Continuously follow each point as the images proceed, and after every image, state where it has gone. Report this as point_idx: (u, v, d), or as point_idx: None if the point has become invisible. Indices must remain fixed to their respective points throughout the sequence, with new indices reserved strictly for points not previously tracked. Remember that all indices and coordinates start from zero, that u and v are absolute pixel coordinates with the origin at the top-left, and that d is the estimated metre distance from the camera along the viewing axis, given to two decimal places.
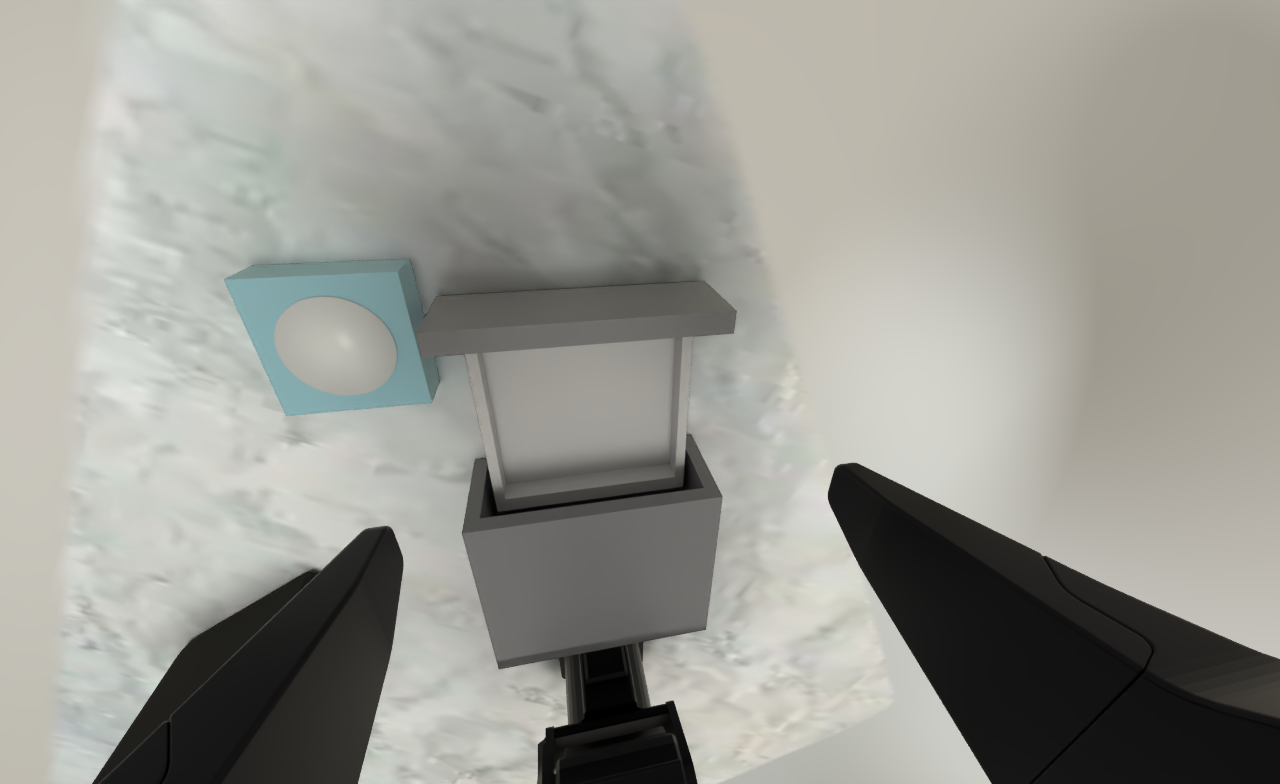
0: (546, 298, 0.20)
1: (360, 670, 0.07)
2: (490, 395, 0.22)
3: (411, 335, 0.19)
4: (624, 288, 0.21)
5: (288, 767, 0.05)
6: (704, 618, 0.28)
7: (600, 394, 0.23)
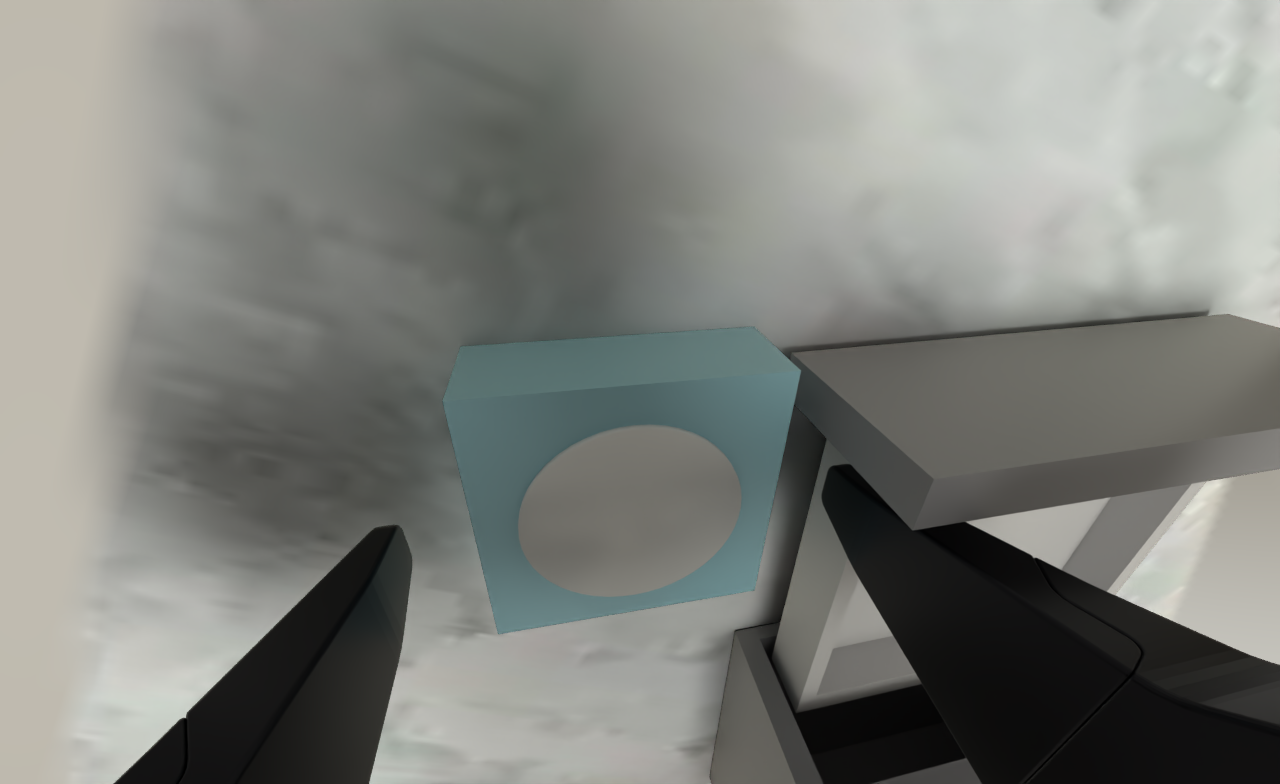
0: (1025, 358, 0.10)
1: (372, 668, 0.07)
2: None
3: (771, 486, 0.09)
4: (1119, 330, 0.11)
5: (303, 764, 0.05)
6: None
7: (1002, 515, 0.13)
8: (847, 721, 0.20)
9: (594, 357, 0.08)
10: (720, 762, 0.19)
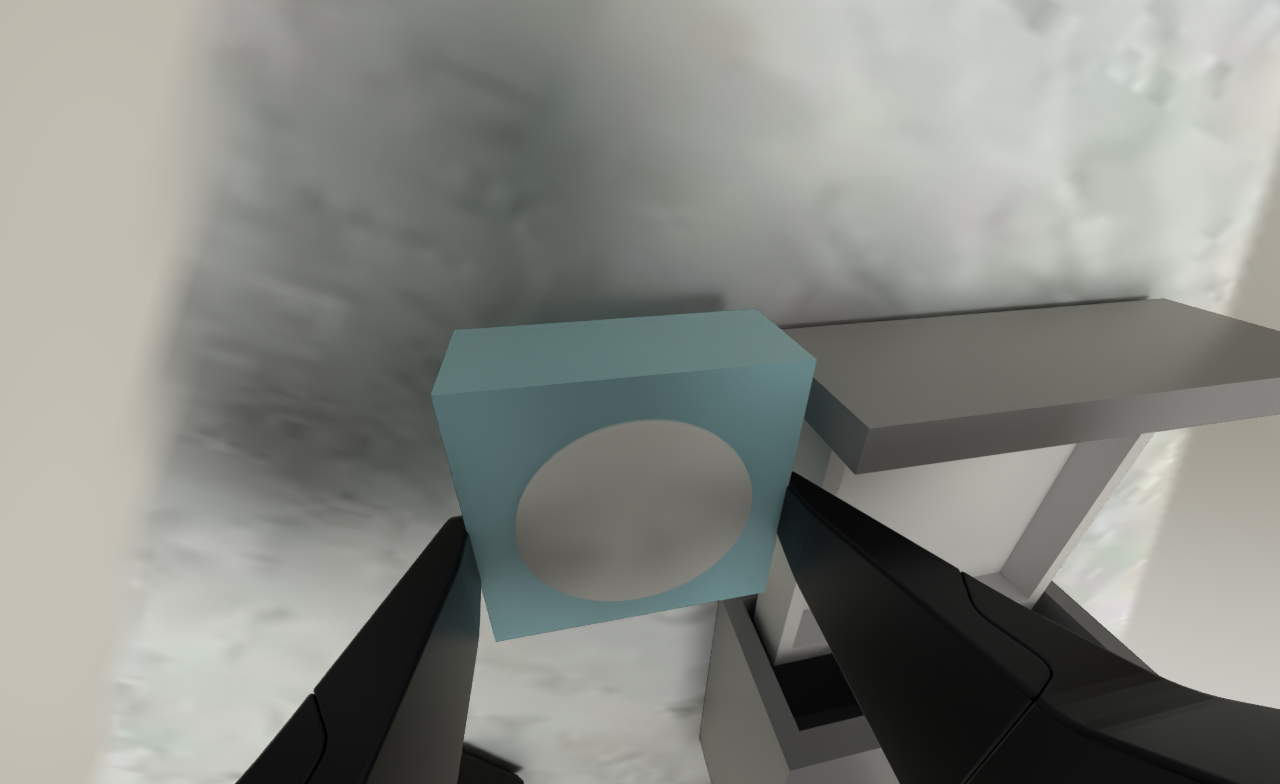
0: (970, 335, 0.11)
1: (461, 652, 0.07)
2: None
3: (783, 483, 0.09)
4: (1061, 313, 0.12)
5: (419, 739, 0.06)
6: None
7: (960, 483, 0.14)
8: (828, 684, 0.21)
9: (594, 347, 0.08)
10: (708, 721, 0.20)
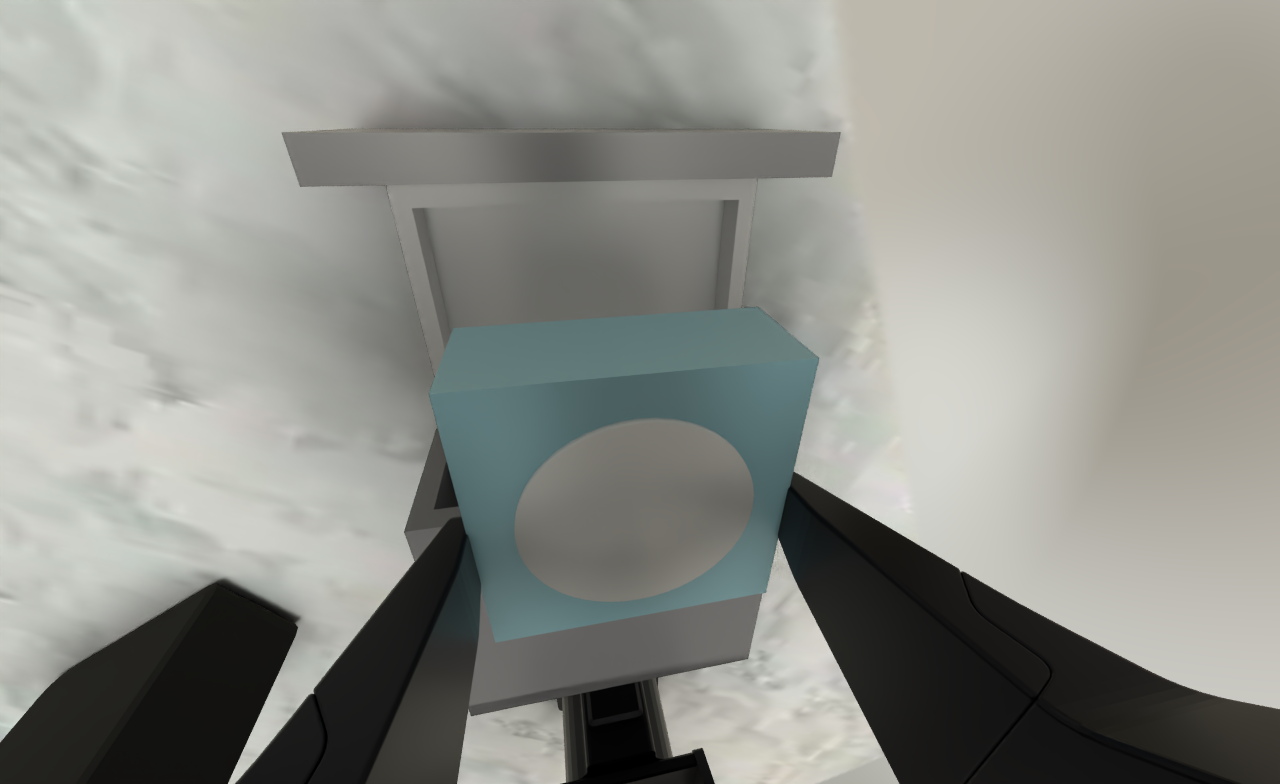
0: None
1: (461, 651, 0.07)
2: (444, 300, 0.15)
3: (786, 483, 0.09)
4: (647, 129, 0.14)
5: (419, 739, 0.06)
6: (747, 645, 0.21)
7: (610, 306, 0.16)
8: None
9: (594, 346, 0.08)
10: None
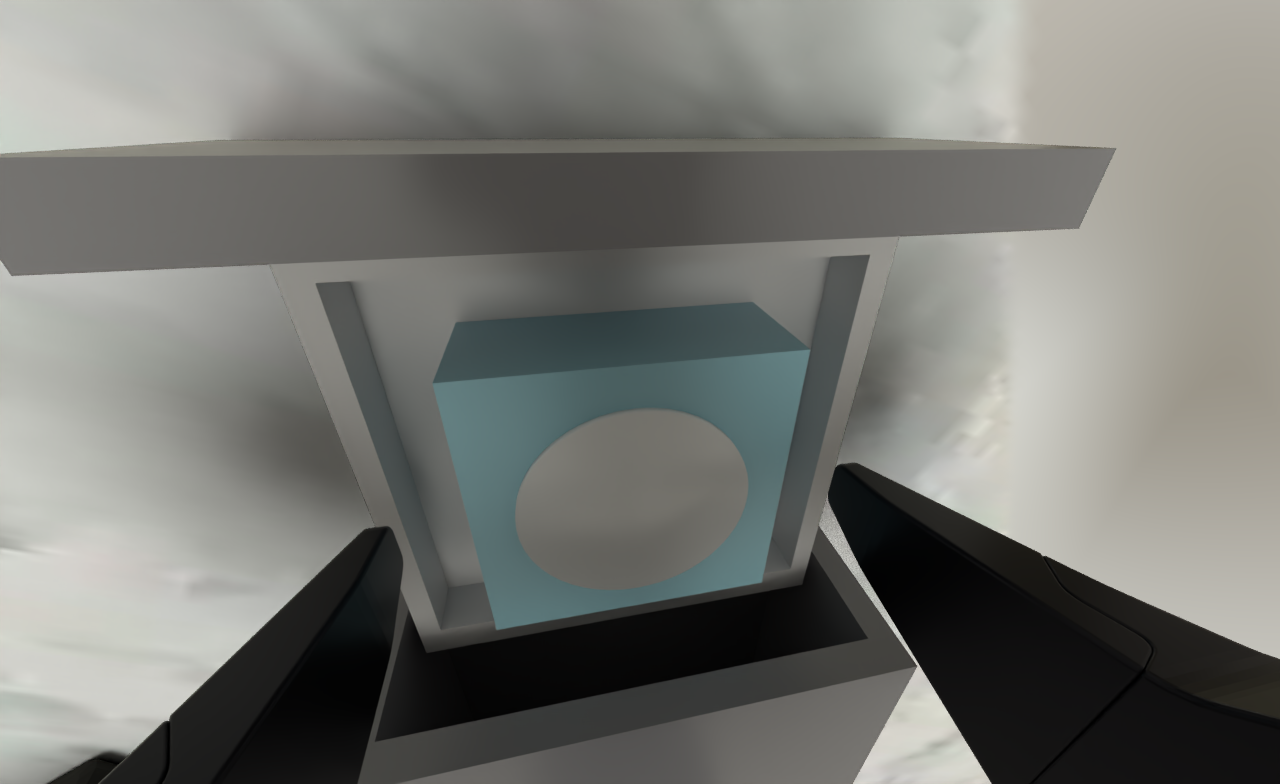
0: (519, 141, 0.07)
1: (360, 670, 0.07)
2: (392, 408, 0.09)
3: (779, 473, 0.09)
4: (719, 139, 0.09)
5: (288, 767, 0.05)
6: None
7: None
8: (611, 681, 0.17)
9: (593, 338, 0.08)
10: None
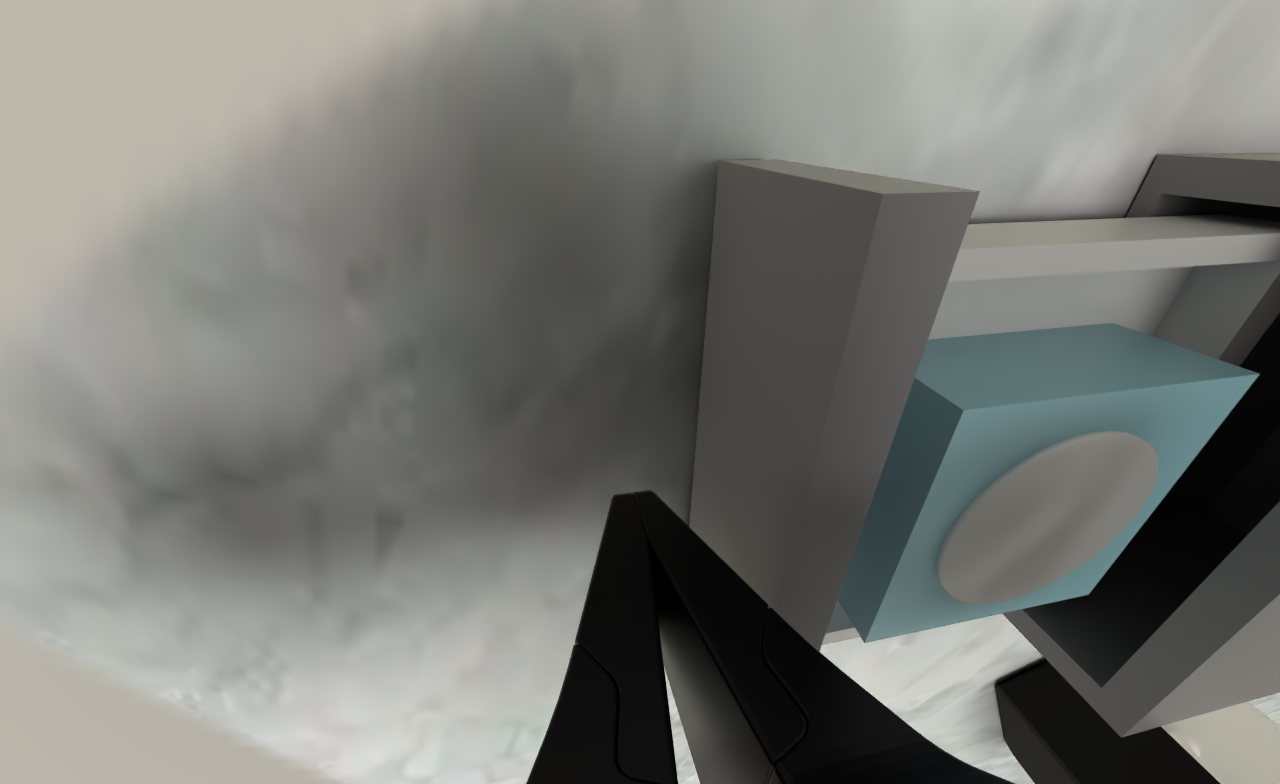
0: (707, 540, 0.10)
1: None
2: None
3: (1102, 398, 0.07)
4: (707, 384, 0.09)
5: None
6: None
7: None
8: (1247, 397, 0.14)
9: None
10: None
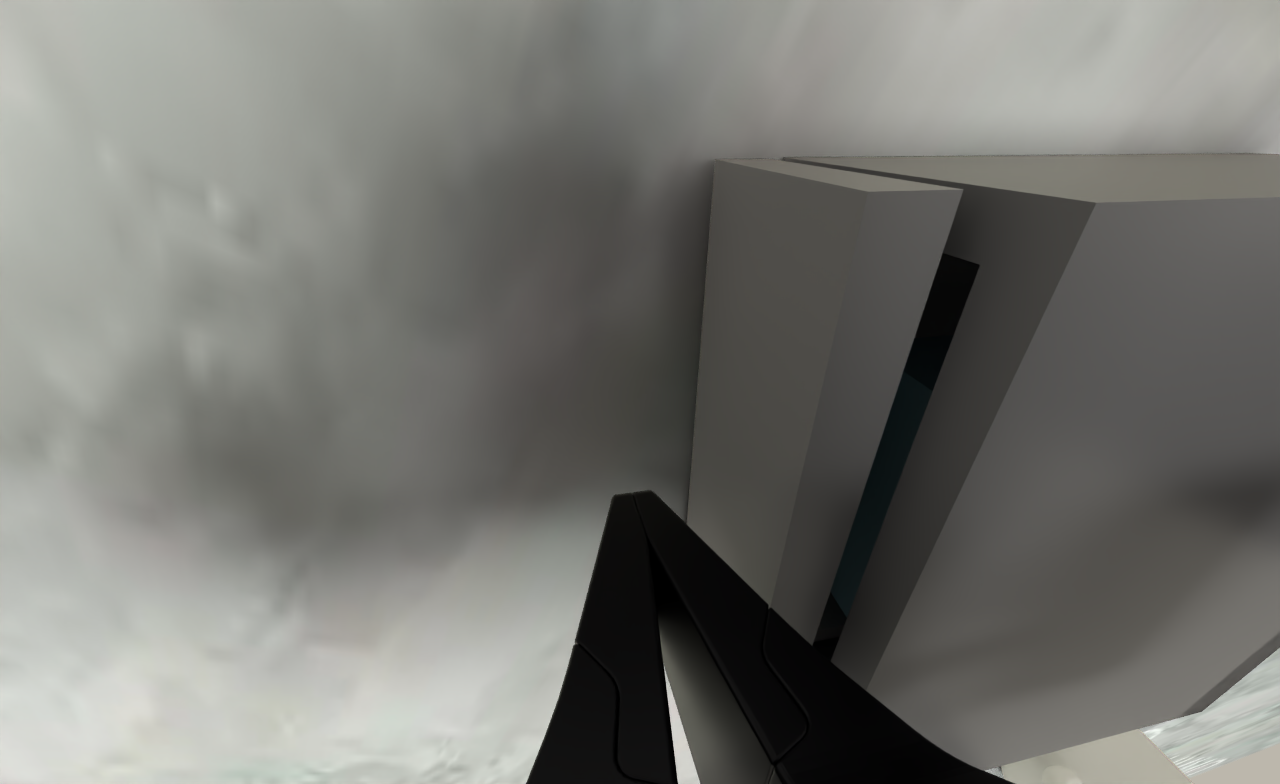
0: (703, 535, 0.11)
1: None
2: None
3: None
4: (703, 381, 0.09)
5: None
6: None
7: None
8: None
9: (855, 518, 0.10)
10: None
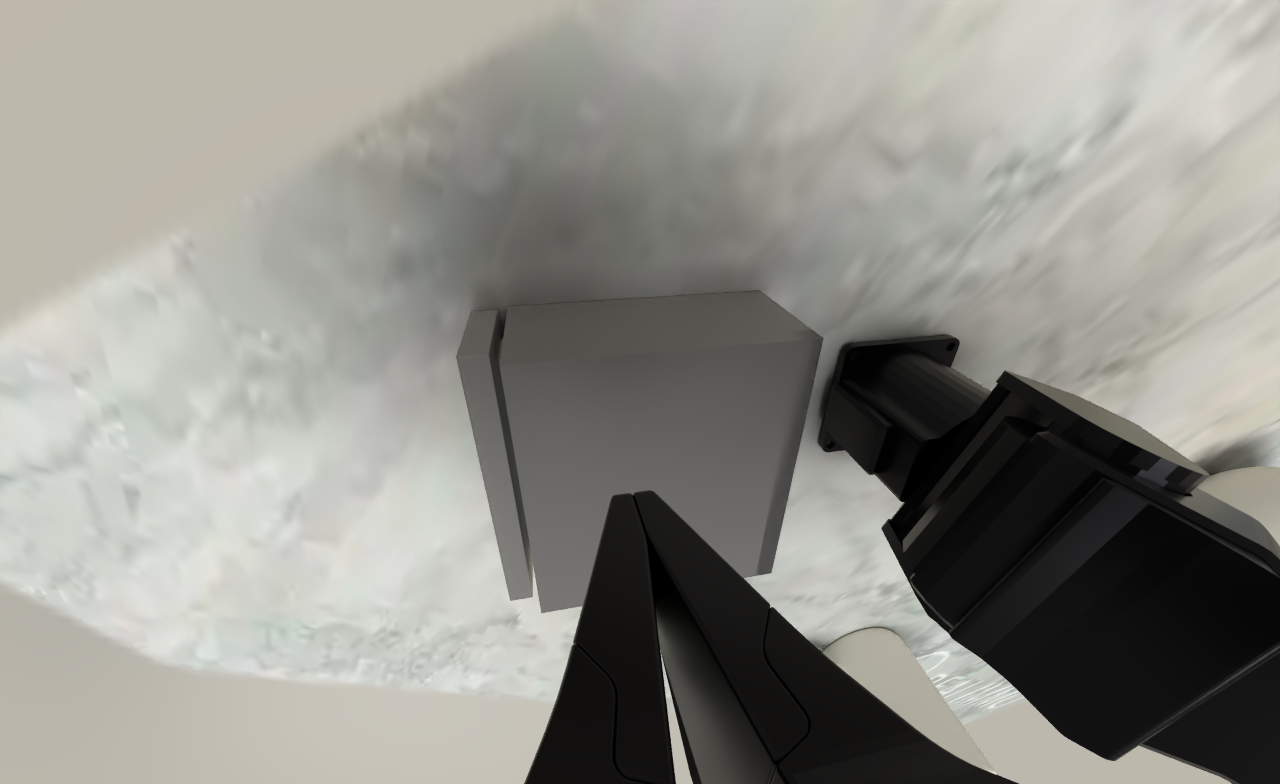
0: None
1: None
2: None
3: None
4: None
5: None
6: (792, 345, 0.16)
7: None
8: None
9: None
10: None
